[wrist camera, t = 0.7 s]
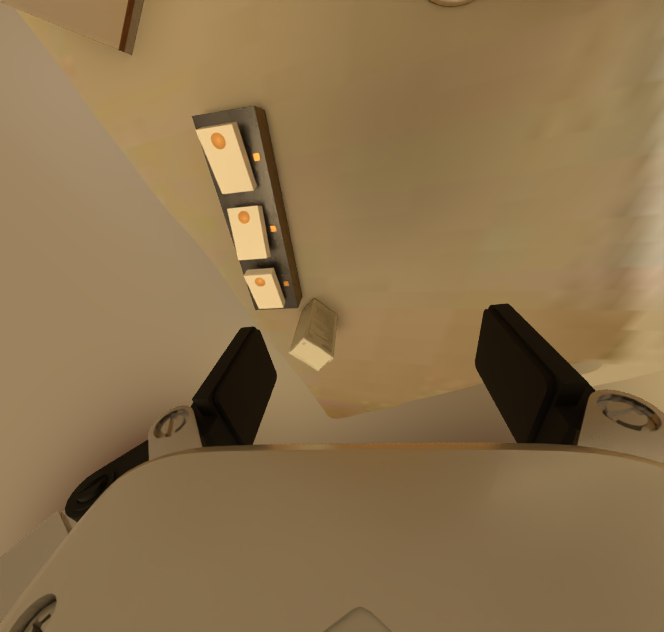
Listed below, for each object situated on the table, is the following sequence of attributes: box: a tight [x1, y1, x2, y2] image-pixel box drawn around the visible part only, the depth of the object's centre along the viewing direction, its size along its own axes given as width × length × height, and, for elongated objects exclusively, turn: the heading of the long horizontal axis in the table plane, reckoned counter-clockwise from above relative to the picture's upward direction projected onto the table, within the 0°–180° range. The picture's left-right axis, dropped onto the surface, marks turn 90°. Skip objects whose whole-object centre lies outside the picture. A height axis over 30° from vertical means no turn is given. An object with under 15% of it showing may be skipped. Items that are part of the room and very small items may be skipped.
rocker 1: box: [196, 122, 257, 194], centre depth 31 cm, size 7×4×2 cm, turn 7°
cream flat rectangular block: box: [227, 206, 271, 260], centre depth 36 cm, size 7×4×2 cm, turn 6°
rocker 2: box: [244, 268, 285, 309], centre depth 41 cm, size 7×4×2 cm, turn 7°
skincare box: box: [289, 299, 338, 371], centre depth 45 cm, size 6×4×12 cm
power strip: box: [192, 106, 302, 310], centre depth 39 cm, size 28×8×4 cm, turn 7°
